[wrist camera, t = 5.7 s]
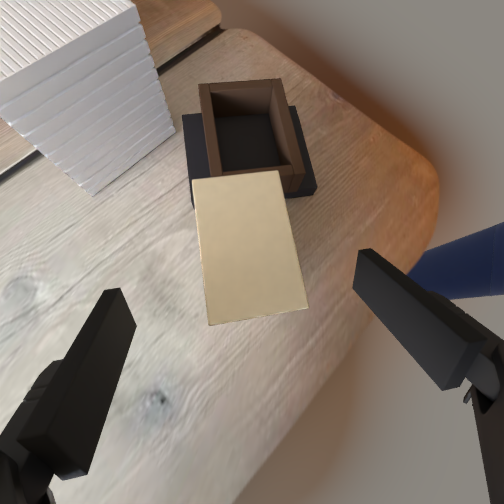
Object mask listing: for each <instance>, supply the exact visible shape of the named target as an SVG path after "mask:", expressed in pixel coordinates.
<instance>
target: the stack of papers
mask: <svg viewBox="0 0 504 504" xmlns="http://www.w3.org/2000/svg"><path fill="white" fill-rule="evenodd" d="M139 21H141V20H140V17H139V14H138V11H137V8H136V5H135V4H134V3H132V2H131V1H130V0H0V117H1V118H2V119H3V120H4V121H5V122H6V123H8V124H9V125H10V126H11V127H12V128H13V129H14V130H16V131H17V132H18V133H19V134H20V135H22V136H23V137H24V138H25V139H26V140H27V141H28V142H30V143H31V144H32V145H33V146H34V147H35V148H36V149H38V150H39V151H40V152H41V153H42V154H43V155H45V156H46V157H47V158H48V159H49V160H50V161H51V162H53V163H54V164H55V165H56V166H57V167H58V168H60V169H61V170H62V171H63V172H64V173H65V174H67V175H68V176H69V177H70V178H71V179H72V180H73V181H75V182H76V183H77V184H78V185H79V186H80V187H82V188H83V189H84V190H85V191H86V192H87V193H88V194H90V195H91V196H92V197H93V196H94V195H95V194H96V193H98V192H99V191H100V190H102V189H103V188H104V187H105V186H107V185H108V184H109V183H111V182H112V181H113V180H114V179H116V178H117V177H118V176H120V175H121V174H122V173H124V172H125V171H126V170H127V169H129V168H130V167H131V166H133V165H134V164H135V163H136V162H138V161H139V160H140V159H142V158H143V157H144V156H145V155H147V154H148V153H149V152H151V151H152V150H153V149H155V148H156V147H157V146H158V145H160V144H161V143H162V142H164V141H165V140H166V139H167V138H169V137H170V136H171V135H173V134H174V133H175V132H176V131H175V127H174V125H172V124H173V121H172V118H171V117H170V116H171V115H170V112H169V110H168V109H167V108H168V105H167V102H166V100H164V99H165V96H164V93H163V91H162V90H161V89H162V87H161V83H160V80H158V79H157V78H158V74H157V71H156V68H154V67H153V66H154V65H155V64H154V61H153V58H152V56H151V55H150V54H149V53H150V49H149V46H148V42H147V41H146V40H145V39H144V38H145V37H146V36H145V33H144V30H143V27H142V25H141V24H140V23H138V22H139Z"/></svg>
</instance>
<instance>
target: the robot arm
mask: <svg viewBox="0 0 504 504" xmlns="http://www.w3.org/2000/svg"><path fill="white" fill-rule="evenodd" d="M352 288H353V290H354V291H355V292H356V293H357V294H358V295H359V296H360V298H361V299H362V300H363V301H364V302H365V303H366V304H367V306H368V307H369V308H370V309H371V310H372V311H373V312H374V314H375V315H376V316H377V317H378V318H379V319H380V320H381V321H382V323H383V324H384V325H385V326H386V327H387V328H388V329H389V331H390V332H391V333H392V334H393V335H394V336H395V338H396V339H397V340H398V341H399V342H400V343H401V344H402V346H403V347H404V348H405V349H406V350H407V351H408V352H409V354H410V355H411V356H412V357H413V358H414V359H415V360H416V362H417V363H418V364H419V365H420V366H421V367H422V368H423V370H424V371H425V372H426V373H427V374H428V375H429V376H430V377H431V379H432V380H433V381H434V382H435V383H436V384H437V385H438V387H439V388H440V389H441V390H442V391H444V390H448V389H452V388H457V387H460V385H461V383H462V382H463V380H464V378H465V377H466V378H467V379H468V380H469V381H470V382H471V383H472V386H471V387H470V389H469V390H468V392H467V393H466V395H465V397H464V400H463V402H464V403H468V401H469V400H470V398H471V397H472V403H473V404H472V406H473V409H474V414H475V420H476V425H477V431H478V436H479V441H480V447H481V453H482V459H483V464H484V470H485V475H486V481H487V486H488V492H489V497H490V503H491V504H504V340H503V339H501V338H500V337H498V336H497V335H496V334H494V333H493V332H491V331H490V330H489V329H487V328H486V327H485V326H483V325H482V324H481V323H479V322H478V321H477V320H475V319H474V318H473V317H471V316H469V315H468V314H465V312H464V311H463V310H462V309H460V308H459V307H456V305H455V304H454V303H452V302H451V301H450V300H448V299H447V298H445V297H444V296H442V295H439V294H437V293H435V292H433V291H428V292H427V291H426V290H425V289H423V288H422V287H421V286H419V285H418V284H417V283H415V282H414V281H413V280H412V279H410V278H409V277H408V276H406V275H405V274H404V273H403V272H401V271H400V270H399V269H397V268H396V267H395V266H393V265H392V264H391V263H390V262H388V261H387V260H386V259H384V258H383V257H382V256H381V255H379V254H378V253H377V252H375V251H374V250H373V249H371V248H369V249H363V250H359V251H358V257H357V263H356V269H355V275H354V281H353V287H352ZM136 327H137V325H136V323H135V321H134V319H133V316H132V314H131V312H130V309H129V307H128V305H127V302H126V300H125V298H124V296H123V293H122V291H121V289H120V288H114V289H108V290H104V291H103V293H102V295H101V297H100V298H99V300H98V302H97V303H96V305H95V307H94V308H93V310H92V312H91V313H90V315H89V317H88V318H87V320H86V322H85V324H84V325H83V327H82V329H81V330H80V332H79V334H78V335H77V337H76V339H75V340H74V342H73V344H72V345H71V347H70V349H69V350H68V352H67V354H66V356H65V357H64V359H62V360H57V361H53V362H52V363H51V364H50V365H49V366H48V367H47V368H46V369H45V370H44V371H43V372H42V373H41V374H40V375H39V376H38V378H37V379H36V381H35V382H34V384H33V386H32V387H31V390H30V391H29V392H28V393H27V395H26V396H25V398H24V399H23V400H24V401H23V402H22V403H21V404H20V406H19V407H18V409H17V410H16V412H15V413H14V415H13V416H12V418H11V419H10V421H9V422H8V424H7V426H6V427H5V429H4V430H3V432H2V433H1V435H0V504H56V502H55V499H54V496H53V493H52V491H51V490H50V488H49V487H48V486H49V484H50V482H51V479H52V477H53V475H54V474H55V475H57V476H58V477H59V478H60V479H61V480H62V481H63V480H67V479H72V478H76V477H80V476H84V475H87V474H88V471H89V468H90V465H91V462H92V459H93V456H94V453H95V450H96V447H97V444H98V441H99V438H100V435H101V432H102V429H103V426H104V423H105V420H106V417H107V414H108V411H109V408H110V405H111V402H112V399H113V396H114V393H115V390H116V387H117V384H118V381H119V378H120V375H121V372H122V369H123V366H124V363H125V360H126V357H127V354H128V351H129V348H130V345H131V342H132V339H133V336H134V333H135V330H136Z"/></svg>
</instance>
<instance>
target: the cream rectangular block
mask: <svg viewBox="0 0 504 504" xmlns="http://www.w3.org/2000/svg"><path fill="white" fill-rule="evenodd" d="M192 188H193V197H194V205H195V214H196V222H197V231H198V240H199V248H200V257H201V265H202V274H203V283H204V291H205V300H206V308H207V317H208V325H209V326H213V325H218V324H224V323H230V322H235V321H241V320H247V319H252V318H258V317H264V316H270V315H275V314H281V313H287V312H292V311H298V310H304V309H308V308H309V303H308V299H307V295H306V290H305V286H304V281H303V277H302V273H301V268H300V264H299V259H298V255H297V251H296V246H295V242H294V237H293V233H292V229H291V224H290V220H289V216H288V211H287V207H286V202H285V198H284V194H283V189H282V185H281V180H280V176H279V172H278V170H275V171H266V172H257V173H248V174H239V175H230V176H221V177H212V178H203V179H193V180H192Z"/></svg>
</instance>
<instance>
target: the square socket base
mask: <svg viewBox="0 0 504 504" xmlns="http://www.w3.org/2000/svg"><path fill="white" fill-rule="evenodd" d="M198 89H199V96H200V103H201V110H202V113H198V114H186V115H182V121H183V130H184V139H185V148H186V157H187V166H188V175H189V183H190V192H191V201H192V205H193V207H194V210H195V205H194V197H193V188H192V180H193V179H203V178H212V177H221V176H230V175H239V174H248V173H257V172H266V171H275V170H278V172H279V176H280V180H281V185H282V189H283V194H284V198H294V197H302V196H310V195H313V194H314V192H315V191H316V189H317V184H316V180H315V176H314V172H313V169H312V165H311V161H310V158H309V154H308V150H307V147H306V143H305V139H304V136H303V132H302V128H301V125H300V121H299V117H298V114H297V110H296V106H288V103H287V100H286V96H285V92H284V88H283V84H282V80H281V78H277V79H264V80H249V81H235V82H220V83H209V84H208V83H206V84H198Z"/></svg>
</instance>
